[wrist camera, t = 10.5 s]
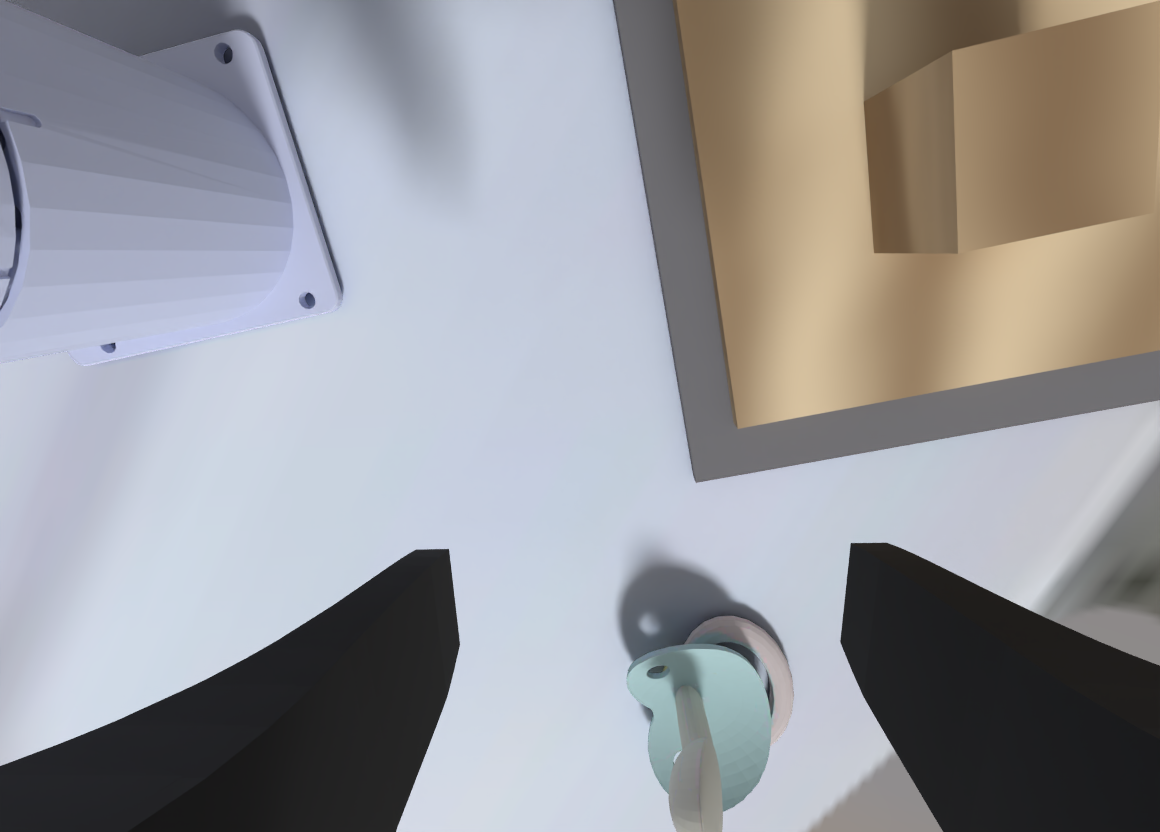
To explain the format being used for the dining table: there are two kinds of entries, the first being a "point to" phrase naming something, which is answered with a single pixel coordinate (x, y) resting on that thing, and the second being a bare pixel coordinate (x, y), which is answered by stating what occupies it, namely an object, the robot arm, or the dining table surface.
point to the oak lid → (923, 191)
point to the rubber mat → (698, 331)
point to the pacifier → (712, 717)
